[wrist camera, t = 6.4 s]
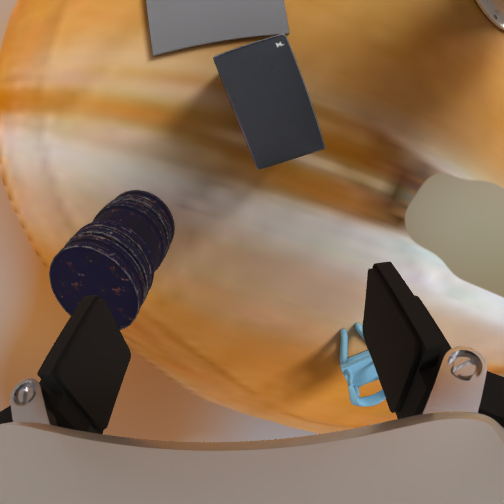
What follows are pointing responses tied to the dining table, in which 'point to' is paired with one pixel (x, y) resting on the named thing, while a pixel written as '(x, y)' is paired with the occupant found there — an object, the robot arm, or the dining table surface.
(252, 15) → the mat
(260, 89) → the small box
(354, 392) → the chair
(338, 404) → the dining table surface
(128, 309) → the storage jar
